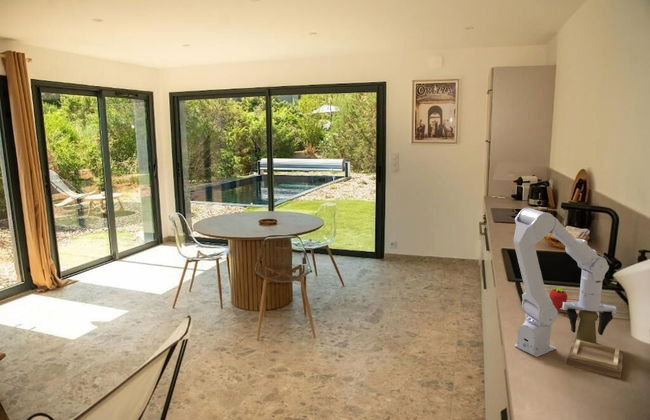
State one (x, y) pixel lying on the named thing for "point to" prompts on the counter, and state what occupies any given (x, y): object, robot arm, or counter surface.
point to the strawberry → (558, 297)
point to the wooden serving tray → (595, 358)
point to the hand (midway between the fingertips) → (586, 332)
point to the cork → (587, 326)
